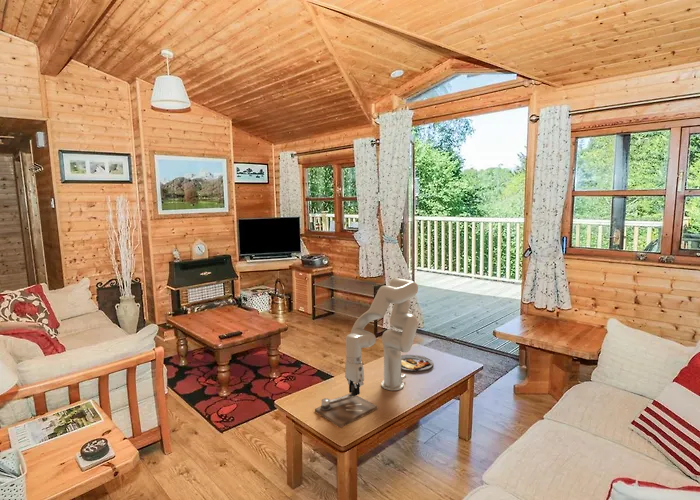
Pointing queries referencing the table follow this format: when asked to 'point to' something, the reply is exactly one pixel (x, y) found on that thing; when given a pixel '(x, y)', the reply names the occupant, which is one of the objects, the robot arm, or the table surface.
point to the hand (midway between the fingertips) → (354, 392)
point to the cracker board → (346, 410)
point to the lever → (327, 402)
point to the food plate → (415, 363)
